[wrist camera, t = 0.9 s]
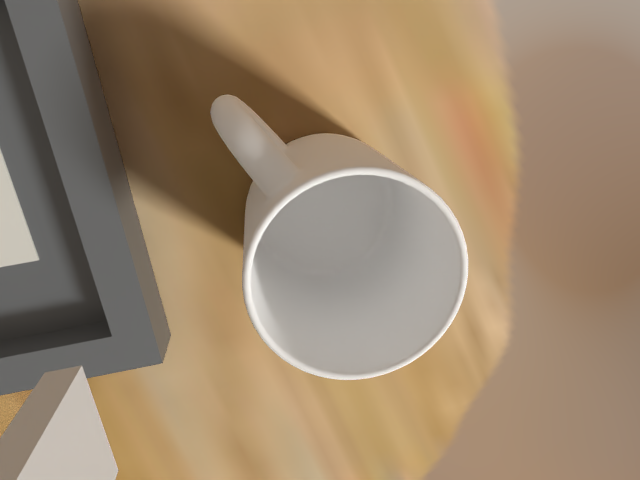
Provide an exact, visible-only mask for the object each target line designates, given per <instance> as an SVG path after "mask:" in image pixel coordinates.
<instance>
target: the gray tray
mask: <svg viewBox="0 0 640 480" xmlns="http://www.w3.org/2000/svg"><path fill="white" fill-rule="evenodd" d="M170 336H171V334H170V330H169V327H168V323H167V319H166V316H165V312H164V309H163V305H162V301H161V298H160V294H159V291H158V287H157V284H156V280H155V276H154V273H153V269H152V266H151V262H150V258H149V255H148V251H147V248H146V244H145V241H144V237H143V233H142V230H141V226H140V223H139V219H138V215H137V212H136V208H135V205H134V201H133V198H132V194H131V190H130V187H129V183H128V180H127V176H126V172H125V169H124V165H123V162H122V158H121V155H120V151H119V147H118V144H117V140H116V137H115V133H114V129H113V126H112V122H111V119H110V115H109V112H108V108H107V104H106V101H105V97H104V94H103V90H102V86H101V83H100V79H99V76H98V72H97V69H96V65H95V61H94V58H93V54H92V51H91V47H90V43H89V40H88V36H87V33H86V29H85V26H84V22H83V18H82V15H81V11H80V8H79V4H78V0H0V395H5V394H10V393H15V392H20V391H25V390H30V389H34V388H35V386H36V385H37V383H38V382H39V380H40V379H41V377H42V376H43V374H44V373H45V372H50V371H56V370H61V369H66V368H71V367H76V366H81V365H82V367H83V370H84V373H85V376H86V378H90V377H95V376H101V375H106V374H111V373H116V372H121V371H126V370H131V369H136V368H141V367H146V366H151V365H156V364H161V363H163V360H164V357H165V353H166V350H167V346H168V343H169V340H170Z"/></svg>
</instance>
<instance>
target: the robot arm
mask: <svg viewBox="0 0 640 480" xmlns="http://www.w3.org/2000/svg"><path fill="white" fill-rule="evenodd" d="M117 473H118V468H117V465H116V462H115V459H114V456H113V453H112V450H111V448H110V445H109V442H108V439H107V436H106V433H105V430H104V428H103V425H102V422H101V419H100V416H99V413H98V410H97V407H96V405H95V402H94V399H93V396H92V393H91V390H90V387H89V385H88V382H87V379H86V376H85V373H84V370H83V367H82V365H81V366H76V367H71V368H66V369H61V370H56V371H50V372H45V373H44V374H43V376H42V377H41V379H40V380H39V382H38V383H37V385H36V386H35V388H34V389H33V391H32V392H31V393H30V395H29V396H28V398H27V399H26V401H25V402H24V404H23V405H22V407H21V408H20V410H19V411H18V413H17V414H16V416H15V417H14V419H13V420H12V422H11V423H10V424H9V426H8V427H7V429H6V430H5V432H4V433H3V435H2V436H1V438H0V480H115V479H116V476H117Z"/></svg>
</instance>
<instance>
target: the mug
mask: <svg viewBox="0 0 640 480" xmlns="http://www.w3.org/2000/svg"><path fill="white" fill-rule="evenodd" d="M210 114H211V119H212V122H213V125H214V127H215V129H216V130H217V132H218V134H219V135H220V137H221V138H222V140H223V141H224V143H225V144H226V146H227V147H228V149H229V150H230V151H231V153H232V154H233V156H234V157H235V158H236V159H237V161H238V162H239V163H240V165H241V166H242V167H243V168H244V170H245V171H246V172H247V173H248V175H249V176H250V177H251V178H252V180H253V182H252V184H251V186H250V189H249V192H248V196H247V201H246V208H245V226H244V248H243V271H242V288H243V295H244V302H245V305H246V308H247V312H248V315H249V317H250V319H251V321H252V324H253V326H254V328H255V329H256V331H257V332H258V334H259V335H260V337H261V338H262V340H263V341H264V342H265V343H266V344H267V345H268V347H269V348H270V349H271V350H272V351H274V352H275V353H276V354H277V355H278V356H279V357H280V358H282V359H283V360H285V361H286V362H288V363H289V364H291V365H292V366H294V367H296V368H298V369H300V370H302V371H305V372H307V373H310V374H313V375H316V376H320V377H325V378H330V379H340V380H358V379H365V378H372V377H376V376H380V375H383V374H386V373H389V372H392V371H394V370H397V369H399V368H401V367H403V366H405V365H407V364H409V363H411V362H412V361H414V360H415V359H417V358H418V357H420V356H421V355H423V354H424V353H425V352H426V351H427V350H428V349H430V348H431V347H432V346H433V345H434V344H435V343H436V342H437V341H438V340H439V339H440V338H441V337H442V335H443V334H444V333H445V331H446V330H447V329H448V327H449V326H450V324H451V323H452V321H453V319H454V318H455V316H456V314H457V312H458V310H459V307H460V305H461V303H462V300H463V297H464V293H465V289H466V284H467V277H468V255H467V247H466V243H465V239H464V235H463V232H462V230H461V228H460V225H459V223H458V221H457V219H456V217H455V216H454V214H453V212H452V211H451V209H450V208H449V207H448V205H447V204H446V203H445V202H444V201H443V199H442V198H441V197H440V196H439V195H437V194H436V193H435V192H434V191H433V190H432V189H431V188H429V187H428V186H427V185H425V184H424V183H422V182H421V181H419V180H418V179H417V178H415V177H414V176H412V175H411V174H409V173H408V172H407V171H405V170H404V169H402V168H401V167H399V166H398V165H397V164H395V163H394V162H392V161H391V160H389V159H388V158H387V157H385V156H384V155H382V154H381V153H379V152H378V151H377V150H375V149H373V148H372V147H370V146H369V145H367V144H366V143H363V142H361V141H359V140H357V139H355V138H351V137H348V136H345V135H340V134H332V133H321V134H312V135H308V136H304V137H301V138H298V139H296V140H293V141H291V142H289V143H287V144H285V143H284V142H283V141H282V140H281V139H280V138H279V137H278V136H277V134H276V133H275V132H274V131H273V130H272V129H271V128H270V127H269V126H268V125H267V124H266V123H265V122H264V121H263V120H262V119H261V118H260V117H259V116H258V115H257V114H256V113H255V112H254V111H253V110H252V109H251V108H250V107H249V106H248V105H246V104H245V103H244V102H243V101H241V100H240V99H239V98H237V97H236V96H233V95H229V94H227V95H221V96H219V97H218V98H216V99H215V101H214V102H213V103H212V107H211V111H210Z"/></svg>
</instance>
